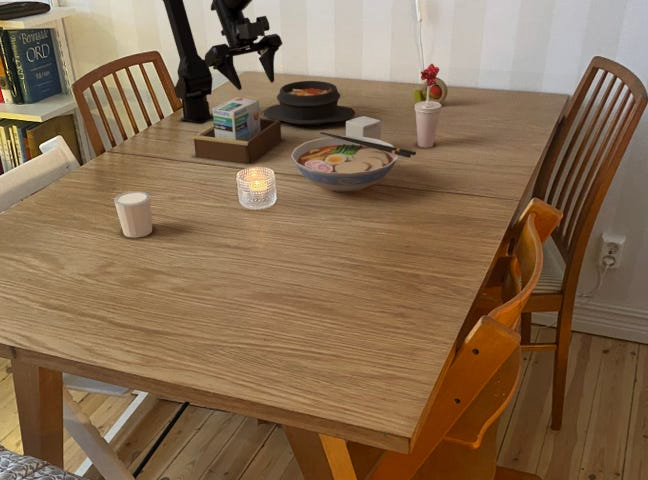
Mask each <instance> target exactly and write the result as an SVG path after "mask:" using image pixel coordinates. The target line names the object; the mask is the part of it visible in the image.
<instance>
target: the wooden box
mask: <svg viewBox="0 0 648 480" xmlns="http://www.w3.org/2000/svg"><path fill="white" fill-rule="evenodd" d="M260 128H261V132H259V133H258V134H257V135H255V136H254V137H252V138H251V139H249V140H248V141H239V140H231V139H223V138H215V130H214V123H212V124H211V125H210V126H208V127H206V128H204V129H202V130H201V131H199V132H198V133H195V134H194V135H193V136H192V137H193V144H194V152H195V157H197V158H203V159H211V160H212V159H213V160H219V161H226V162H234V163H240V164H248V165H249V164H251V163H253V162H254V161H255V160H256V159H258V158H259V157H261V155H263V154H264V153H266V152H267V151H269V150H270V149H271V148H273V147H274V146H275V145H277V144H278V143H279V142H281V141H282V128H281V121H280V120H274V119H269V118H263V117H260Z"/></svg>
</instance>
